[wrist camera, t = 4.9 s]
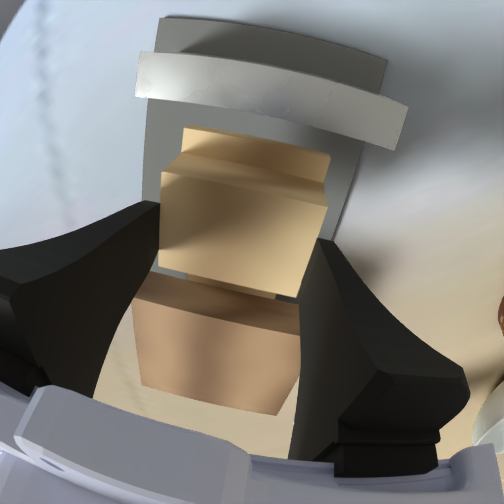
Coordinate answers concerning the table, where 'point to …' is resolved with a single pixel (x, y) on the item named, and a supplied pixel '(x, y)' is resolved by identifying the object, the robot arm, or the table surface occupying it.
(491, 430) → the serving bowl
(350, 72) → the mat
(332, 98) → the stop bar
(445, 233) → the table surface
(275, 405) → the slab
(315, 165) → the bearer
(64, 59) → the table surface
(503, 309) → the food container
